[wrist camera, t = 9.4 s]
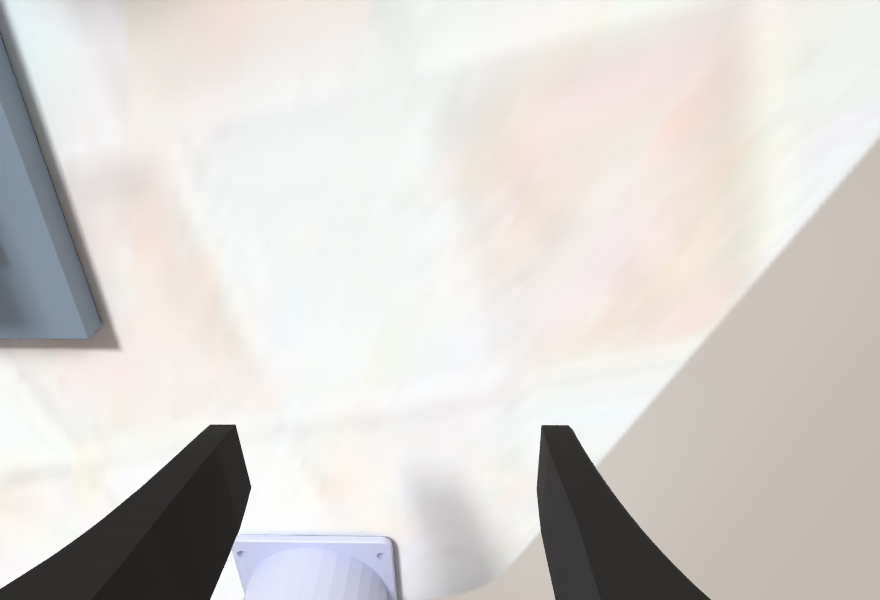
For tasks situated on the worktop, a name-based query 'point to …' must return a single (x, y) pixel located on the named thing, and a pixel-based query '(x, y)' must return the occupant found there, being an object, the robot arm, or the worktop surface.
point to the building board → (35, 236)
